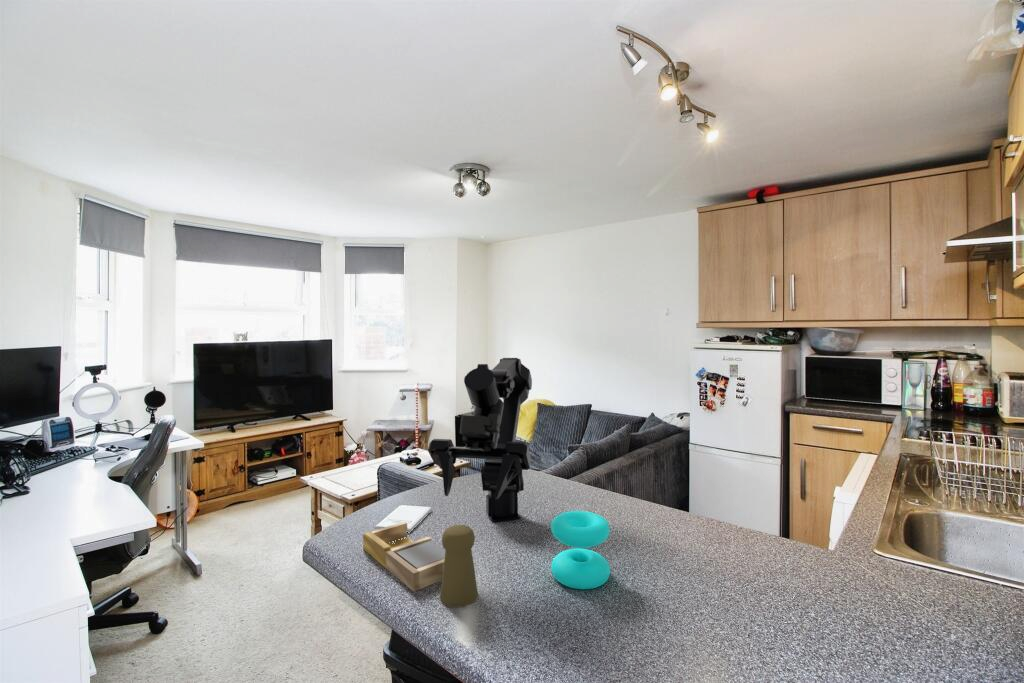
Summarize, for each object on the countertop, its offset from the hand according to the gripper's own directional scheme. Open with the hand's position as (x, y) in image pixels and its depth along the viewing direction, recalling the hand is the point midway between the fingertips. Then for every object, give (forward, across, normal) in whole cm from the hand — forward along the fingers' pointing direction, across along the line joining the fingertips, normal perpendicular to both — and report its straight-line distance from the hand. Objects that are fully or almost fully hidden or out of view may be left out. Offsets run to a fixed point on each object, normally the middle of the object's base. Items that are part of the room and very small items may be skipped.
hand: (471, 496), depth 82 cm
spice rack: (+8, -12, +11) cm, 18 cm away
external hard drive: (-4, -22, +24) cm, 32 cm away
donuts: (+8, +19, +11) cm, 23 cm away
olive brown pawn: (+15, 0, +4) cm, 16 cm away
